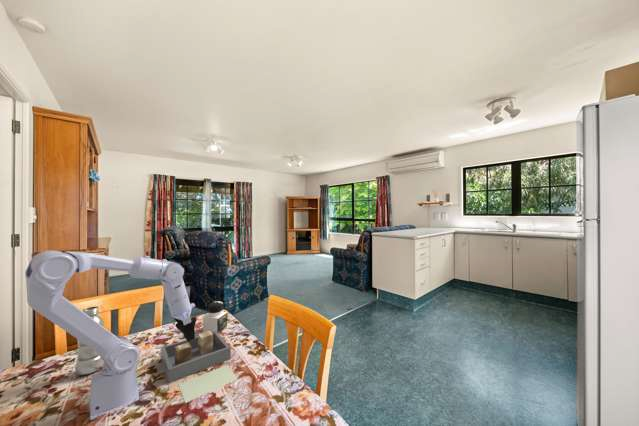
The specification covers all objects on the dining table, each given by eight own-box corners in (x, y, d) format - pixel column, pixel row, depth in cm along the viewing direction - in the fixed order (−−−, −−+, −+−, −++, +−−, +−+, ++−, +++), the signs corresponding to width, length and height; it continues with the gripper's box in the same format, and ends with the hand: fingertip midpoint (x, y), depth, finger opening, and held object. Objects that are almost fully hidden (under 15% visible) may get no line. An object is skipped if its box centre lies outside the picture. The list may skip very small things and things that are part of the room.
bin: (168, 385, 69) (168, 369, 69) (160, 360, 81) (160, 347, 81) (230, 360, 81) (230, 347, 81) (215, 342, 93) (215, 330, 93)
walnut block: (177, 370, 75) (177, 351, 75) (174, 364, 78) (175, 345, 78) (191, 365, 77) (191, 346, 78) (188, 359, 80) (188, 341, 81)
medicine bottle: (217, 335, 98) (217, 306, 99) (202, 334, 100) (202, 305, 100) (227, 327, 105) (227, 300, 106) (213, 326, 107) (213, 299, 107)
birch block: (201, 355, 83) (201, 338, 83) (198, 350, 86) (198, 333, 86) (213, 351, 86) (213, 334, 86) (209, 346, 89) (209, 330, 89)
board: (185, 405, 62) (185, 402, 62) (178, 386, 69) (178, 384, 69) (238, 380, 71) (238, 378, 71) (227, 366, 78) (227, 364, 78)
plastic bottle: (105, 371, 76) (106, 308, 76) (74, 381, 71) (75, 314, 71) (103, 362, 80) (103, 303, 81) (74, 372, 75) (75, 308, 76)
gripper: (196, 298, 73) (207, 337, 75) (185, 285, 84) (195, 319, 86) (170, 310, 68) (183, 350, 71) (162, 294, 79) (173, 330, 82)
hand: (188, 334), depth 78 cm, fingers open, 7 cm apart
